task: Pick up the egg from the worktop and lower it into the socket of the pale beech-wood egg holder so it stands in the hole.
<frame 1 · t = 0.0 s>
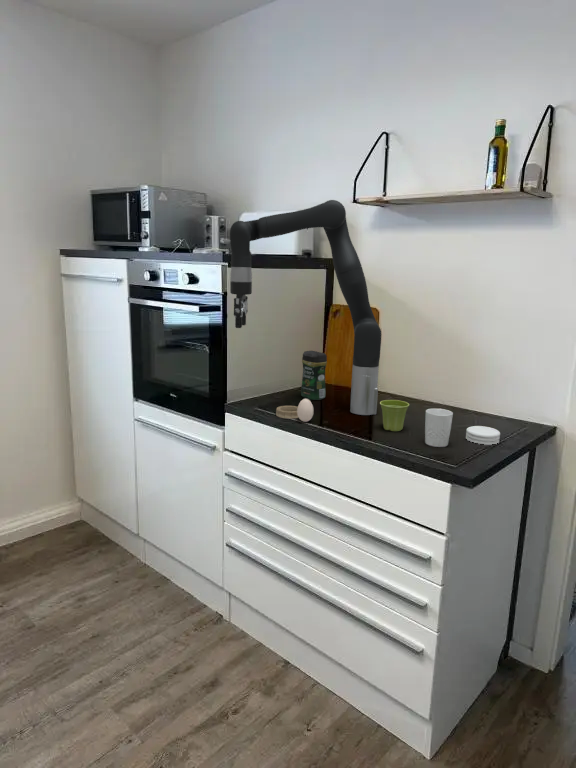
hand: (240, 326, 201), 29 cm above the counter, fingers open, 8 cm apart
coffee jar: (312, 398, 223), on the counter
white jar lid: (482, 441, 176), on the counter
white cup: (436, 444, 171), on the counter
egg: (304, 422, 190), on the counter
egg holder: (289, 415, 198), on the counter
plant pot: (392, 429, 185), on the counter
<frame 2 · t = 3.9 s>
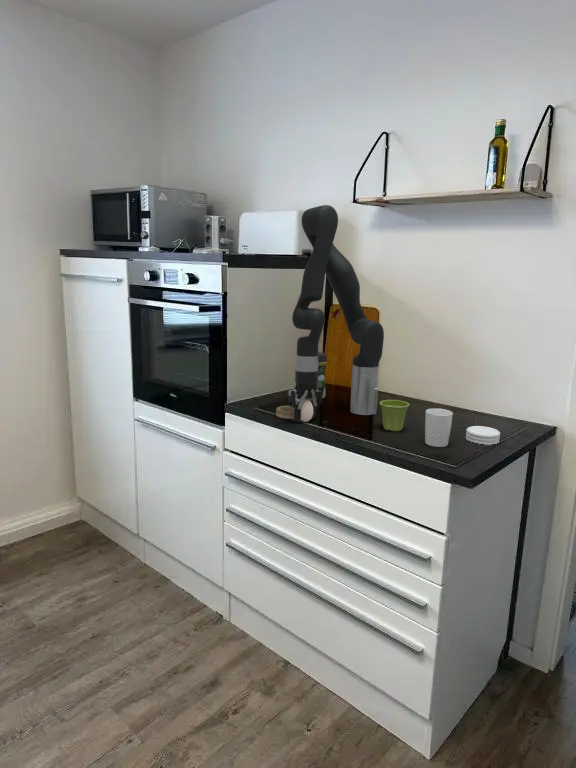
hand: (304, 417, 190), 1 cm above the counter, fingers closed on egg, 5 cm apart
egg: (304, 422, 190), on the counter, touching gripper
everything else where it was.
when the fingers open (4 cm above the counter, at t = 9.0 s): egg drops 2 cm, resting in egg holder.
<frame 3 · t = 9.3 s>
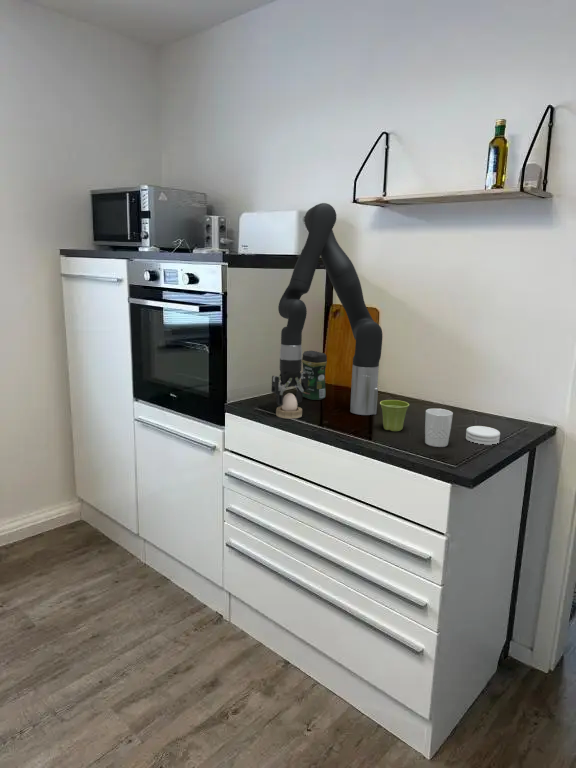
hand: (289, 403, 197), 4 cm above the counter, fingers open, 7 cm apart
egg: (289, 415, 198), resting in egg holder
everything else where it was.
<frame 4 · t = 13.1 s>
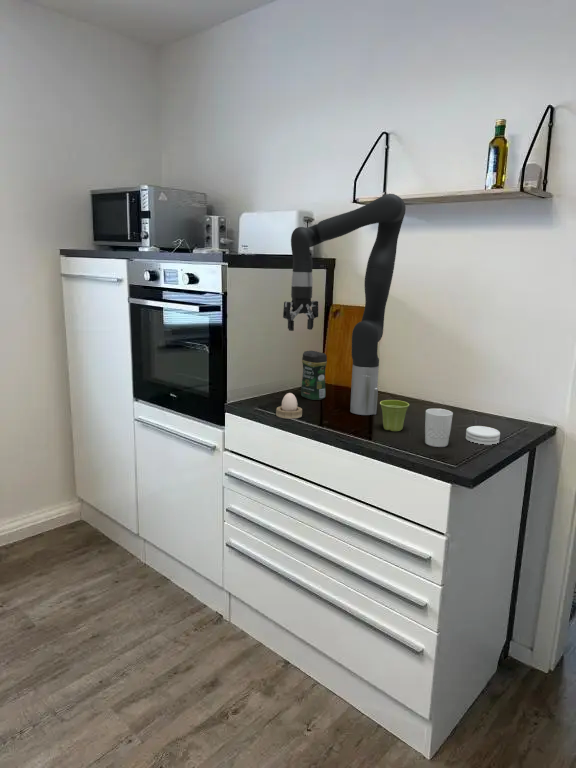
hand: (300, 330, 206), 28 cm above the counter, fingers open, 8 cm apart
nothing on the counter moved.
at the end: egg 0.1 cm from the egg holder (horizontally); egg tilted 0°; the gripper is holding nothing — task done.
